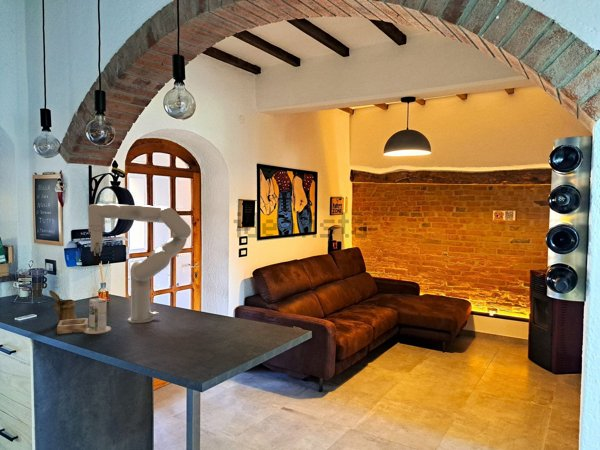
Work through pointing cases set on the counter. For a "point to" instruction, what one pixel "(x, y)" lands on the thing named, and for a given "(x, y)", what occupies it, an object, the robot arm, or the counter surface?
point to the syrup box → (97, 314)
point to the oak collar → (72, 325)
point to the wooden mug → (64, 308)
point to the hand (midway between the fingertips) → (97, 262)
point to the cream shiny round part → (97, 331)
